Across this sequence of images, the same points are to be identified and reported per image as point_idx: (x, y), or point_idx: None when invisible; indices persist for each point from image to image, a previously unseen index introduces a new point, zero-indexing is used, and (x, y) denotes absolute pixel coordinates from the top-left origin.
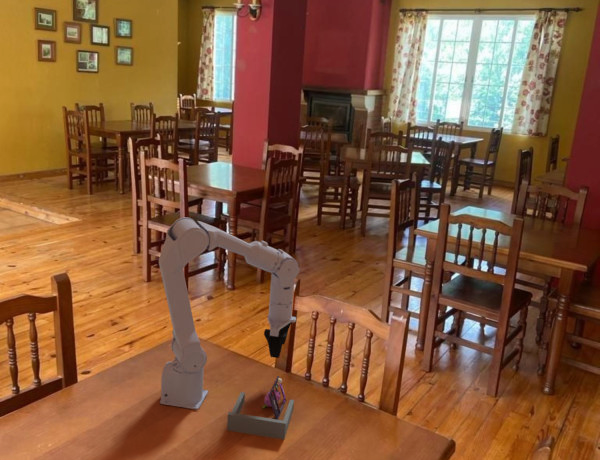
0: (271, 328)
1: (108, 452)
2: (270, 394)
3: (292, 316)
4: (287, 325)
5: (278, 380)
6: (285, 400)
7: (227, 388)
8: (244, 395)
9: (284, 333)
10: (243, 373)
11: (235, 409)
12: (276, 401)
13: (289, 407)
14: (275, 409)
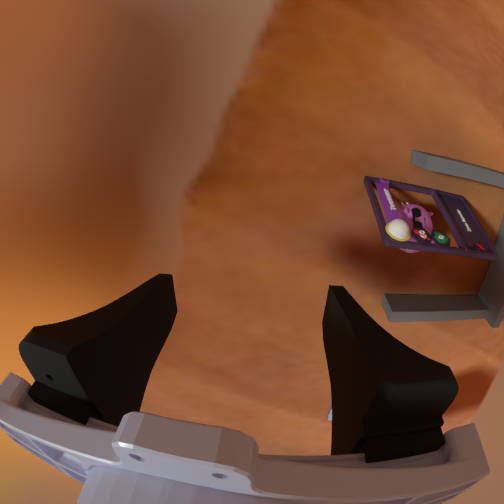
0: (459, 494)
1: (476, 407)
2: (495, 255)
3: (22, 350)
4: (109, 348)
5: (407, 236)
6: (370, 178)
7: (321, 341)
8: (396, 308)
9: (398, 404)
10: (232, 319)
11: (461, 314)
12: (449, 217)
13: (465, 171)
14: (462, 213)
